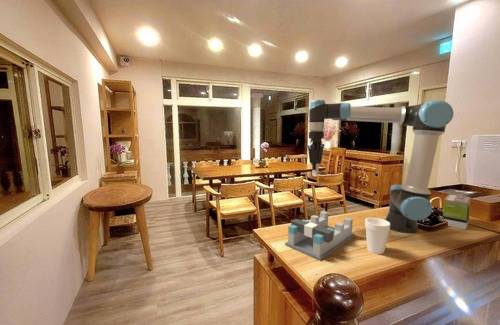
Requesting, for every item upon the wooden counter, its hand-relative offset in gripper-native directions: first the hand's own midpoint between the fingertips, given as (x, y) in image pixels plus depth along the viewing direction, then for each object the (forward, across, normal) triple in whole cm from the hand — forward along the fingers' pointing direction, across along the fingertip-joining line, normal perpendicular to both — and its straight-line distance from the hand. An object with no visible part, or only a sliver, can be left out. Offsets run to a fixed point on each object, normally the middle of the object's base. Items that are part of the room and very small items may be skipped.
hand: (315, 175), depth 121 cm
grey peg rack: (+28, +11, +11) cm, 32 cm away
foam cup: (+29, +2, +32) cm, 43 cm away
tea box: (+29, -62, +51) cm, 85 cm away
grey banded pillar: (+22, +20, +11) cm, 32 cm away
